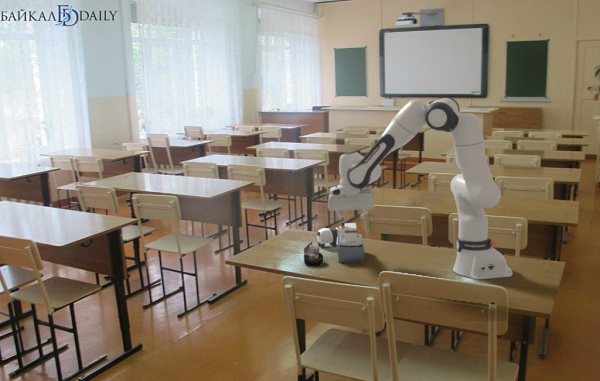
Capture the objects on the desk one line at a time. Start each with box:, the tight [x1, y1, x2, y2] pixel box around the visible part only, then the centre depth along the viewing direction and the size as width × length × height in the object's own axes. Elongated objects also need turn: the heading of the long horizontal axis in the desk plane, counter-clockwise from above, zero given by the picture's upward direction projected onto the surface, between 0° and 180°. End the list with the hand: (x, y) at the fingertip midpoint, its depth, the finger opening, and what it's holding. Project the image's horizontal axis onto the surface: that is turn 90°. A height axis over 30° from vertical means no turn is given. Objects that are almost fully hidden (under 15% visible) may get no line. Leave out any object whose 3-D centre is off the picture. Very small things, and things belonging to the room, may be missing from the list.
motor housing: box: [337, 233, 365, 264], centre depth 238 cm, size 11×15×9 cm
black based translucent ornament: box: [303, 241, 324, 268], centre depth 233 cm, size 7×11×10 cm
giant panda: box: [316, 224, 345, 249], centre depth 255 cm, size 15×6×10 cm, turn 110°
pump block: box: [343, 222, 358, 242], centre depth 237 cm, size 5×8×7 cm, turn 177°
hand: (351, 219), depth 236 cm, fingers open, 8 cm apart
